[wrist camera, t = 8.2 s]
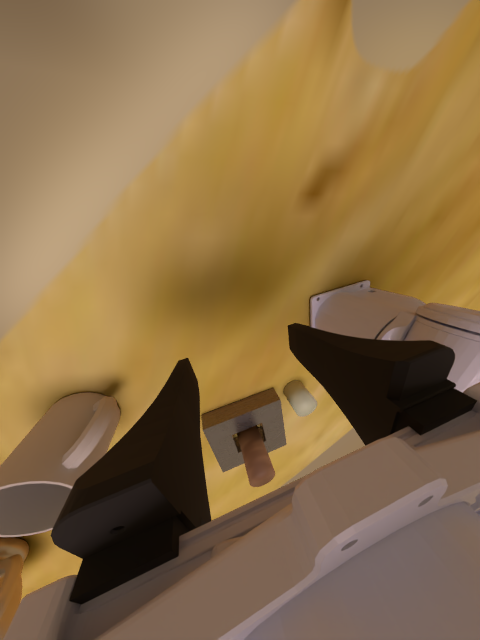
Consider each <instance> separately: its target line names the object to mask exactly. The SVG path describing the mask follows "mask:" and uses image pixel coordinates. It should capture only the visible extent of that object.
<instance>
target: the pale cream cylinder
mask: <svg viewBox="0 0 480 640" xmlns="http://www.w3.org/2000/svg"><path fill="white" fill-rule="evenodd" d="M283 393H284V395H285V396H286V398H287V400H288V401H289V403H290V404H291V406H292V407H293V409H294V410H295V412H296V414H297V415H298V416H307V415H309V414H310V413H312V412H313V411H314V410H315V408H316V406H317V401H316V400H315V399H314V397H313V396H312V395H311V394H310V393H309V391H308V390H307V389H306V388H305V386H304V385H303V384H302V383H301V382H300V381H298V380H294V381H291V382H289V383H288V384H287V385H286V386H285V388H284V390H283Z"/></svg>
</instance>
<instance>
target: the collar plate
mask: <svg viewBox="0 0 480 640" xmlns="http://www.w3.org/2000/svg"><path fill="white" fill-rule="evenodd" d="M258 424H260V426H261V427H260V428H258V429H259V432H260V434H261V437H262V439H263V442H264V445H265V447H266V450H267V453H268V452H271V451H273V450H275V449H277V448H280V447H282V446H284V445H286V438H285V430H284V423H283V416H282V409H281V401H280V398H279V397H278V395H277V393H276V392H275V390H274V388H271V389H268V390H266V391H263V392H260V393H258V394H255V395H253V396H250V397H247V398H245V399H242V400H239V401H237V402H234V403H231V404H229V405H226V406H224V407H221V408H218V409H216V410H213V411H210V412H208V413H205V414H202V425H203V431H204V434H205V436H206V438H207V440H208V442H209V444H210V446H211V448H212V450H213V452H214V454H215V457H216V459H217V461H218V463H219V465H220V467H221V469H222V471H223V472H225V471H227V470H230V469H232V468H234V467H237V466H239V465H241V464H243V463H244V459H243V455H242V451H241V447H240V443H239V439H238V437H236V438H235V437H234V434H236V433H238V432H241V431H243V430H246V429H248V428H250V427H253V426H255V425H258Z"/></svg>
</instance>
